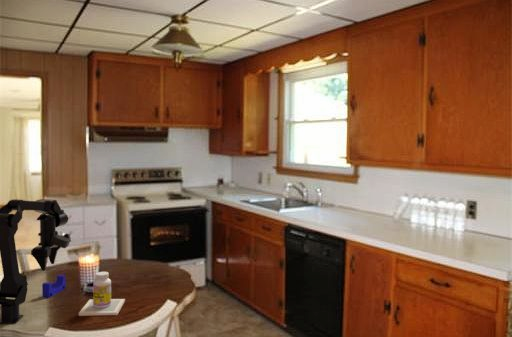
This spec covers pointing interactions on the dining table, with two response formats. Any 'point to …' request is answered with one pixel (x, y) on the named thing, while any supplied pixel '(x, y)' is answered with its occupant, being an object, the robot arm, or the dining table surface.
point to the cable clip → (53, 287)
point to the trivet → (109, 310)
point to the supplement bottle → (102, 290)
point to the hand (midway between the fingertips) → (48, 267)
